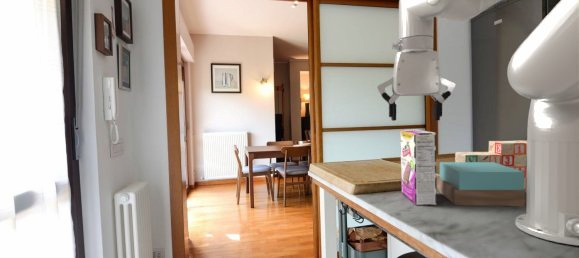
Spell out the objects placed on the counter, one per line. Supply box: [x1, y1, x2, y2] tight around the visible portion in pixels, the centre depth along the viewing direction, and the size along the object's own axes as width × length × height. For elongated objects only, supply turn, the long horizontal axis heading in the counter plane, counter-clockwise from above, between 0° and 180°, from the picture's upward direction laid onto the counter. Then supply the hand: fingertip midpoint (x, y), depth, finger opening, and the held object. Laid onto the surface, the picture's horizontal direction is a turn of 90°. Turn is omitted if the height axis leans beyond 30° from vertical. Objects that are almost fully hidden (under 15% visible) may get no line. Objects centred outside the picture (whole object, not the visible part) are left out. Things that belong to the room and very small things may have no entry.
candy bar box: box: [399, 129, 438, 207], centre depth 74 cm, size 11×5×16 cm, turn 176°
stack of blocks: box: [454, 139, 527, 190], centre depth 84 cm, size 21×6×12 cm, turn 84°
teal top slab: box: [439, 161, 525, 190], centre depth 74 cm, size 13×13×4 cm
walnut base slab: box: [436, 176, 526, 207], centre depth 75 cm, size 14×14×4 cm
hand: (414, 120), depth 74 cm, fingers open, 9 cm apart
